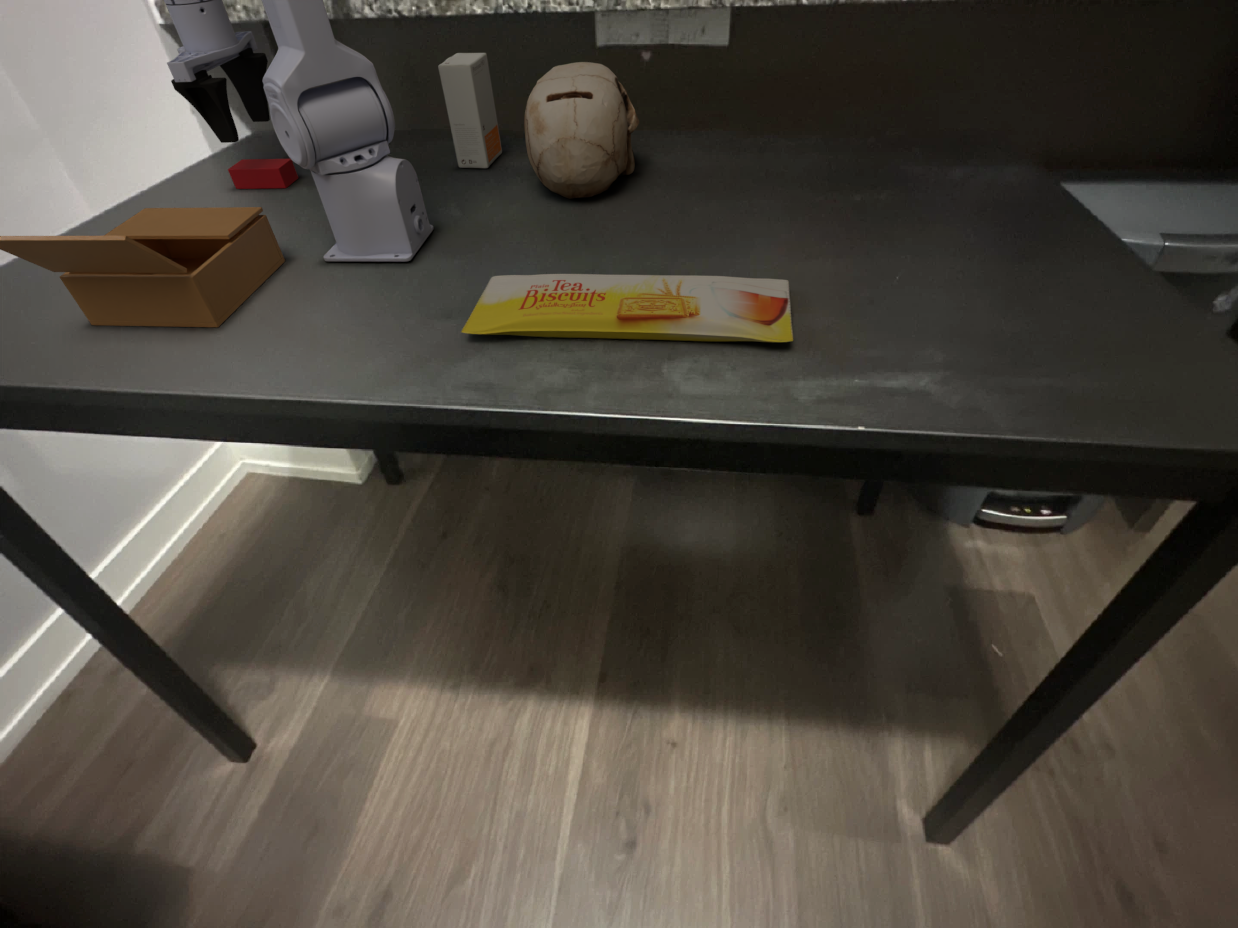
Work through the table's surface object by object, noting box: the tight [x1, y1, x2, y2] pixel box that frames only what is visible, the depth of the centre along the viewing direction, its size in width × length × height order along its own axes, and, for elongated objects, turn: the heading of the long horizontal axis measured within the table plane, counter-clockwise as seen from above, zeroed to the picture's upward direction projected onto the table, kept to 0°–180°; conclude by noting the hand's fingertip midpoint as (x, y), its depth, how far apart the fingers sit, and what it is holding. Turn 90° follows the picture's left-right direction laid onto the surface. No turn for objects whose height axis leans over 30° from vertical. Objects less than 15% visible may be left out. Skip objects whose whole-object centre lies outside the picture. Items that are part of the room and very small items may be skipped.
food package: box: [460, 273, 794, 343], centre depth 59 cm, size 27×2×10 cm
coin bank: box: [523, 61, 640, 200], centre depth 80 cm, size 16×17×13 cm
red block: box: [227, 158, 299, 190], centre depth 88 cm, size 7×4×2 cm, turn 83°
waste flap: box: [0, 235, 187, 273], centre depth 56 cm, size 13×6×1 cm
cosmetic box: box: [437, 52, 503, 169], centre depth 86 cm, size 6×4×12 cm
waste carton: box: [59, 206, 286, 328], centre depth 66 cm, size 13×13×6 cm
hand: (246, 130), depth 85 cm, fingers open, 7 cm apart
